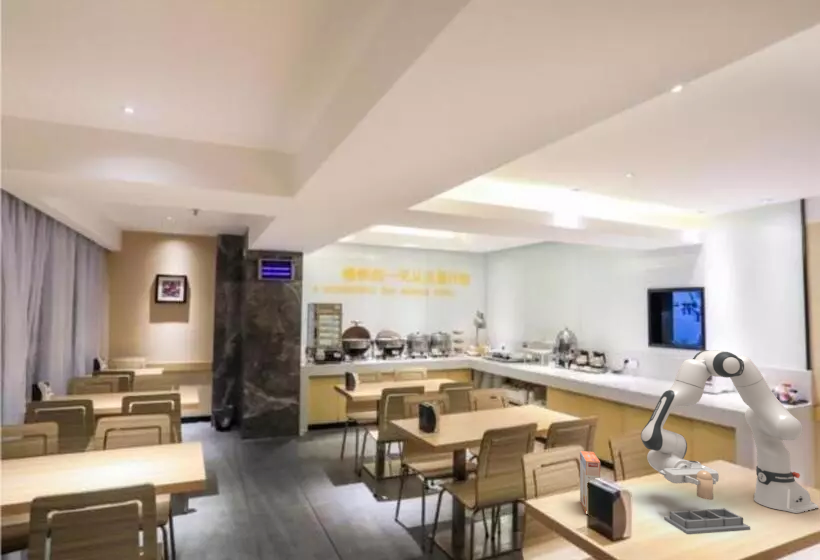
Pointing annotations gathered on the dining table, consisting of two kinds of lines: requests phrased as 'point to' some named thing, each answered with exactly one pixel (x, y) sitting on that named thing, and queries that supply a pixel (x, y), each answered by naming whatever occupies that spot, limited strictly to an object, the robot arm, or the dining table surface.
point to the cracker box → (587, 473)
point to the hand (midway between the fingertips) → (706, 482)
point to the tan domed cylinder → (705, 485)
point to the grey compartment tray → (706, 521)
